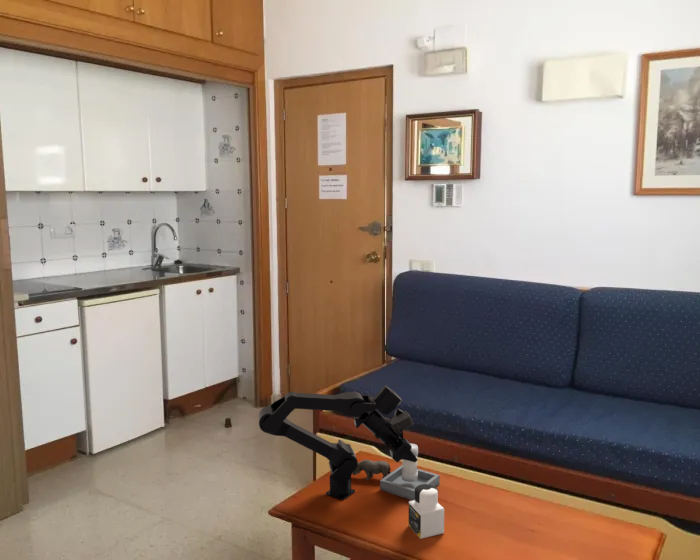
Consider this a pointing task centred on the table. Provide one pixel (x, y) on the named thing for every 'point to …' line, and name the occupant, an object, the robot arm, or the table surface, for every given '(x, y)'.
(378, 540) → the table surface
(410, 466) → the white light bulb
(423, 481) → the parts tray
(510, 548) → the table surface
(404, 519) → the table surface
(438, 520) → the medicine bottle
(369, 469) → the rhino figurine
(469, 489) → the table surface
